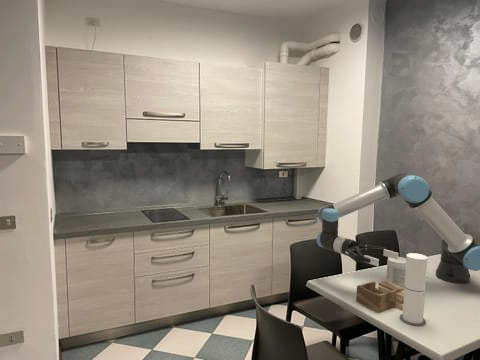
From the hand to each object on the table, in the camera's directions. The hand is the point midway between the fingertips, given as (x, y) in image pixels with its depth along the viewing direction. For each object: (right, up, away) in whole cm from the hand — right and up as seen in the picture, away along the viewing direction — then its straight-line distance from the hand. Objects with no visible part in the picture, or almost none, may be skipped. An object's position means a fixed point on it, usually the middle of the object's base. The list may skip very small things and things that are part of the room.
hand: (388, 259), depth 144 cm
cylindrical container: (+6, -21, -7) cm, 23 cm away
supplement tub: (+13, -19, +20) cm, 31 cm away
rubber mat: (+6, -22, -7) cm, 24 cm away
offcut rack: (+1, -20, +6) cm, 21 cm away
